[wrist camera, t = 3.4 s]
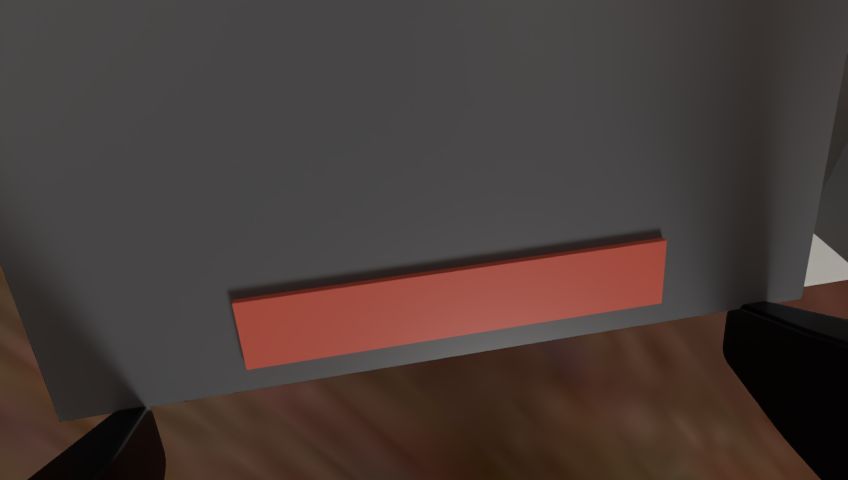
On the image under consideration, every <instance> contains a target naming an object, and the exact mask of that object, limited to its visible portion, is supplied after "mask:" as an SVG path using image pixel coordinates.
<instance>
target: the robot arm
mask: <svg viewBox="0 0 848 480" xmlns="http://www.w3.org/2000/svg"><path fill="white" fill-rule="evenodd" d="M723 353H724V357H725V359H726V361H727V363H728V364H729V366H730V367H731V368H732V370H733V371H734V372H735V374H736V375H737V376H738V378H739V379H740V380H741V382H742V383H743V384H744V386H745V387H746V388H747V390H748V391H749V393H750V394H751V395H752V397H753V398H754V399H755V401H756V402H757V403H758V405H759V406H760V407H761V409H762V410H763V411H764V413H765V414H766V415H767V417H768V418H769V419H770V421H771V422H772V423H773V425H774V426H775V427H776V429H777V430H778V431H779V432H780V434H781V435H782V436H783V437H784V439H785V440H786V441H787V442H788V443H789V444H790V446H791V447H792V448H793V449H794V450H795V451H796V453H797V454H798V455H799V456H800V457H801V458H802V459H803V460H804V461H805V463H806V464H807V465H808V466H809V467H810V468H811V469H812V470H813V471H814V473H815V474H816V475H817V476H818V477H819V478H820V479H821V480H848V319H843V318H839V317H834V316H830V315H825V314H821V313H816V312H812V311H807V310H803V309H798V308H794V307H789V306H785V305H780V304H776V303H771V302H767V301H761V302H755V303H749V304H744V305H742V306H741V308H740V309H736V310H730V311H727V316H726V324H725V332H724V340H723ZM165 470H166V458H165V452H164V448H163V445H162V442H161V438H160V435H159V432H158V428H157V425H156V422H155V418H154V415H153V413H152V411H151V409H150V408H149V407H143V406H142V407H135V408H129V409H123V410H118V411H115V412H114V413H113V414H111V415H110V416H109V417H107V418H106V419H105V420H104V421H102V422H101V423H100V424H98V425H97V426H96V427H95V428H93V429H92V430H91V431H89V432H88V433H87V434H86V435H84V436H83V437H82V438H80V439H79V440H78V441H77V442H75V443H74V444H73V445H71V446H70V447H69V448H68V449H66V450H65V451H64V452H62V453H61V454H60V455H59V456H57V457H56V458H55V459H53V460H52V461H51V462H49V463H48V464H47V465H46V466H44V467H43V468H42V469H40V470H39V471H38V472H37V473H35V474H34V475H33V476H31V477H30V478H29V479H28V480H164V477H165Z"/></svg>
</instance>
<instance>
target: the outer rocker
mask: <svg viewBox="0 0 848 480" xmlns="http://www.w3.org/2000/svg"><path fill="white" fill-rule="evenodd" d="M847 49H848V0H0V264H1V267H2V269H3V272H4V275H5V277H6V280H7V283H8V285H9V288H10V291H11V293H12V296H13V299H14V301H15V304H16V307H17V309H18V312H19V314H20V317H21V320H22V322H23V325H24V328H25V330H26V333H27V336H28V338H29V341H30V344H31V346H32V349H33V352H34V354H35V357H36V360H37V362H38V365H39V368H40V370H41V373H42V376H43V378H44V381H45V384H46V386H47V389H48V391H49V394H50V397H51V399H52V402H53V405H54V407H55V410H56V413H57V415H58V418H59V421H60V422H62V421H68V420H74V419H80V418H86V417H92V416H98V415H104V414H110V413H114V412H115V411H118V410H123V409H129V408H135V407H142V406H143V407H152V406H158V405H164V404H170V403H176V402H182V401H188V400H194V399H200V398H206V397H212V396H218V395H224V394H230V393H236V392H242V391H248V390H254V389H260V388H266V387H272V386H278V385H284V384H290V383H296V382H302V381H308V380H315V379H321V378H327V377H333V376H339V375H345V374H351V373H357V372H363V371H369V370H375V369H381V368H387V367H393V366H399V365H405V364H411V363H417V362H423V361H429V360H435V359H441V358H447V357H453V356H459V355H465V354H471V353H477V352H483V351H489V350H495V349H501V348H507V347H513V346H519V345H525V344H531V343H537V342H543V341H549V340H555V339H561V338H567V337H574V336H580V335H586V334H592V333H598V332H604V331H610V330H616V329H622V328H628V327H634V326H640V325H646V324H652V323H658V322H664V321H670V320H676V319H682V318H688V317H694V316H700V315H706V314H712V313H718V312H724V311H730V310H736V309H740V308H741V306H742V305H744V304H749V303H755V302H761V301H767V302H771V303H778V302H784V301H790V300H796V299H802V294H803V288H804V283H805V278H806V272H807V267H808V261H809V256H810V250H811V245H812V240H813V234H814V229H815V223H816V218H817V212H818V207H819V201H820V196H821V191H822V185H823V180H824V174H825V169H826V163H827V158H828V153H829V147H830V142H831V136H832V131H833V125H834V120H835V115H836V109H837V104H838V98H839V93H840V87H841V82H842V76H843V71H844V66H845V60H846V55H847Z"/></svg>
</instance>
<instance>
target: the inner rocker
mask: <svg viewBox="0 0 848 480" xmlns="http://www.w3.org/2000/svg"><path fill="white" fill-rule="evenodd" d="M814 234H815V235H816V236H817V237H819V238H820V239H821V240H822V241H823V242H824V243H826V244H827V245H828V246H829V247H830V248H831V249H833V250H834V251H835V252H836V253H837V254H838V255H840V256H841V257H842V258H843V259H844V260H845V261H847V262H848V140H847V142H846V144H845V146H844V148H843V150H842V152H841V154H840V156H839V158H838V160H837V162H836V164H835V166H834V168H833V170H832V172H831V174H830V176H829V178H828V180H827V182H826V184H825V186H824V188H823V191H822V193H821V196H820V201H819V207H818V212H817V218H816V223H815V229H814Z"/></svg>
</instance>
